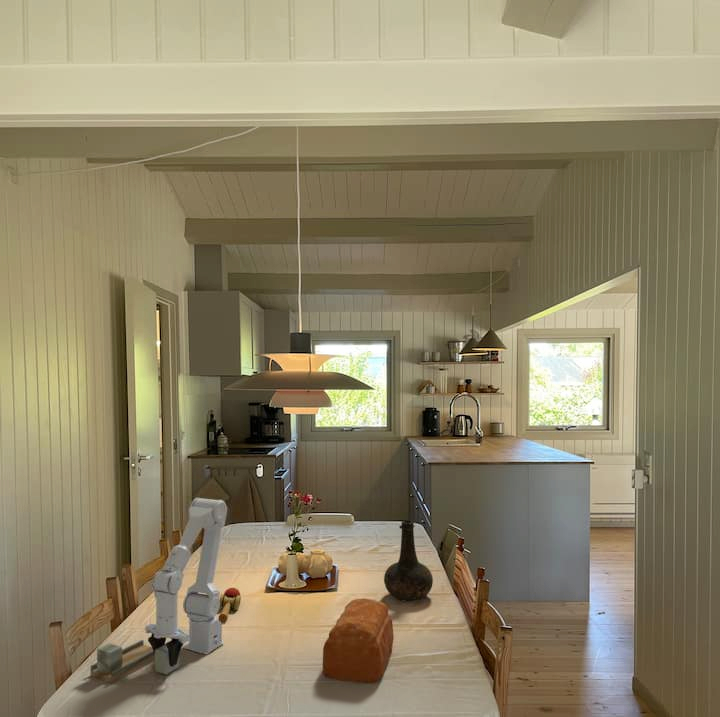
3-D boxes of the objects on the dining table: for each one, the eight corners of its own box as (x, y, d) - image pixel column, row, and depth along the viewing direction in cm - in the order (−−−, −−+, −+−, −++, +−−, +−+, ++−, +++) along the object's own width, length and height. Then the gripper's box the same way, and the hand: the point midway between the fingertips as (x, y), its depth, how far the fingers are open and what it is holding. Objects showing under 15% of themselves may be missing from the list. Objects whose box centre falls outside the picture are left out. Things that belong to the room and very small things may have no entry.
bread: (319, 678, 169) (319, 624, 169) (341, 640, 193) (341, 592, 193) (380, 686, 166) (380, 630, 166) (395, 645, 189) (395, 596, 189)
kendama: (237, 625, 206) (246, 598, 224) (233, 608, 205) (242, 581, 223) (214, 630, 206) (225, 601, 224) (210, 612, 205) (221, 585, 223)
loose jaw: (166, 674, 170) (166, 652, 170) (154, 670, 172) (154, 649, 172) (179, 666, 175) (179, 645, 175) (167, 663, 177) (167, 642, 177)
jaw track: (163, 655, 182) (163, 629, 182) (113, 683, 166) (113, 655, 166) (141, 648, 186) (141, 623, 186) (90, 675, 170) (90, 648, 170)
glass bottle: (436, 591, 234) (436, 517, 234) (427, 609, 217) (427, 529, 217) (391, 586, 239) (391, 513, 240) (378, 603, 222) (378, 525, 223)
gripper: (137, 614, 173) (136, 663, 173) (175, 624, 167) (175, 675, 167) (156, 605, 180) (155, 652, 179) (194, 615, 173) (194, 664, 173)
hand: (166, 662), depth 173 cm, fingers closed on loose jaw, 4 cm apart
